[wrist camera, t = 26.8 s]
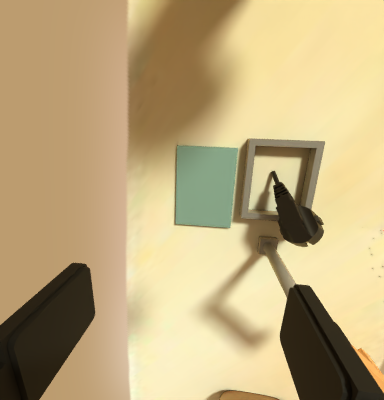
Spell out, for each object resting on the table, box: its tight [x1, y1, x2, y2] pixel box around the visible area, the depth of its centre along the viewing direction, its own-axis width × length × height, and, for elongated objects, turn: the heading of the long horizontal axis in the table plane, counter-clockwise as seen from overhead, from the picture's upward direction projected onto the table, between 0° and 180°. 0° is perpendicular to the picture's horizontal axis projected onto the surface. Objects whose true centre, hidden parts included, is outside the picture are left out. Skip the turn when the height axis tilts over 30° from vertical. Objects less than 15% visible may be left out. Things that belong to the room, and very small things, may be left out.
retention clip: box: [352, 346, 384, 393], centre depth 23 cm, size 15×3×5 cm, turn 47°
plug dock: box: [240, 139, 325, 298], centre depth 27 cm, size 20×11×18 cm, turn 178°
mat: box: [176, 146, 238, 228], centre depth 36 cm, size 14×10×1 cm
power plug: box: [271, 171, 324, 247], centre depth 33 cm, size 6×8×12 cm
